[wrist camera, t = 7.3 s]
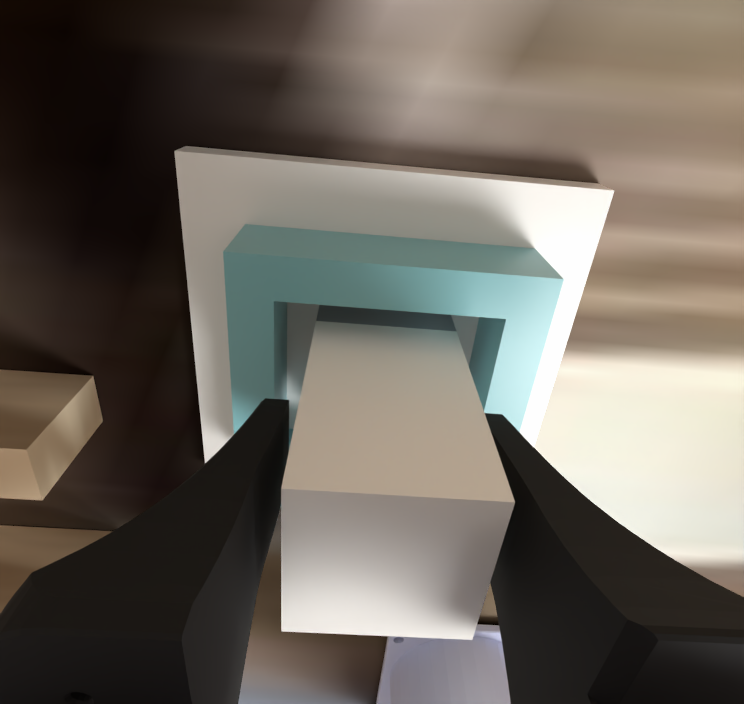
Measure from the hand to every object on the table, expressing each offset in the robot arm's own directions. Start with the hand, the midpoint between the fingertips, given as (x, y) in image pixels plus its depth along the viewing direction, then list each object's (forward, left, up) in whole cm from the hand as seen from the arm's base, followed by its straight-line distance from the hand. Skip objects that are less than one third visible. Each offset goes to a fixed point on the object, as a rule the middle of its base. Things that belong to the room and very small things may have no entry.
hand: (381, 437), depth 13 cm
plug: (0, 0, -4) cm, 4 cm away
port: (0, 0, -5) cm, 5 cm away
